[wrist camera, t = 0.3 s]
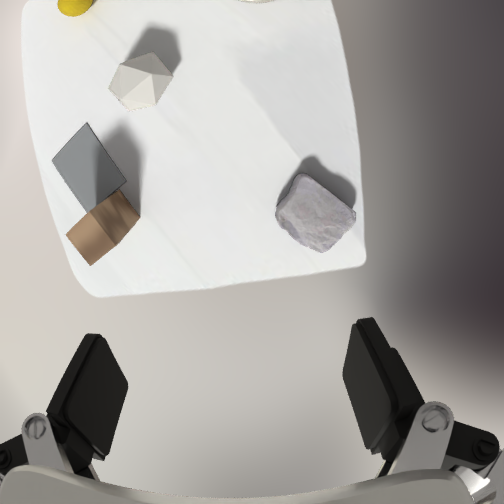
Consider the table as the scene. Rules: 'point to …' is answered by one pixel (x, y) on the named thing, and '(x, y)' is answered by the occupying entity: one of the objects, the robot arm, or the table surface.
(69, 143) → the pad
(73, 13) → the lemon
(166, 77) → the die
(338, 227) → the stone block
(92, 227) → the walnut block
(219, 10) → the table surface
